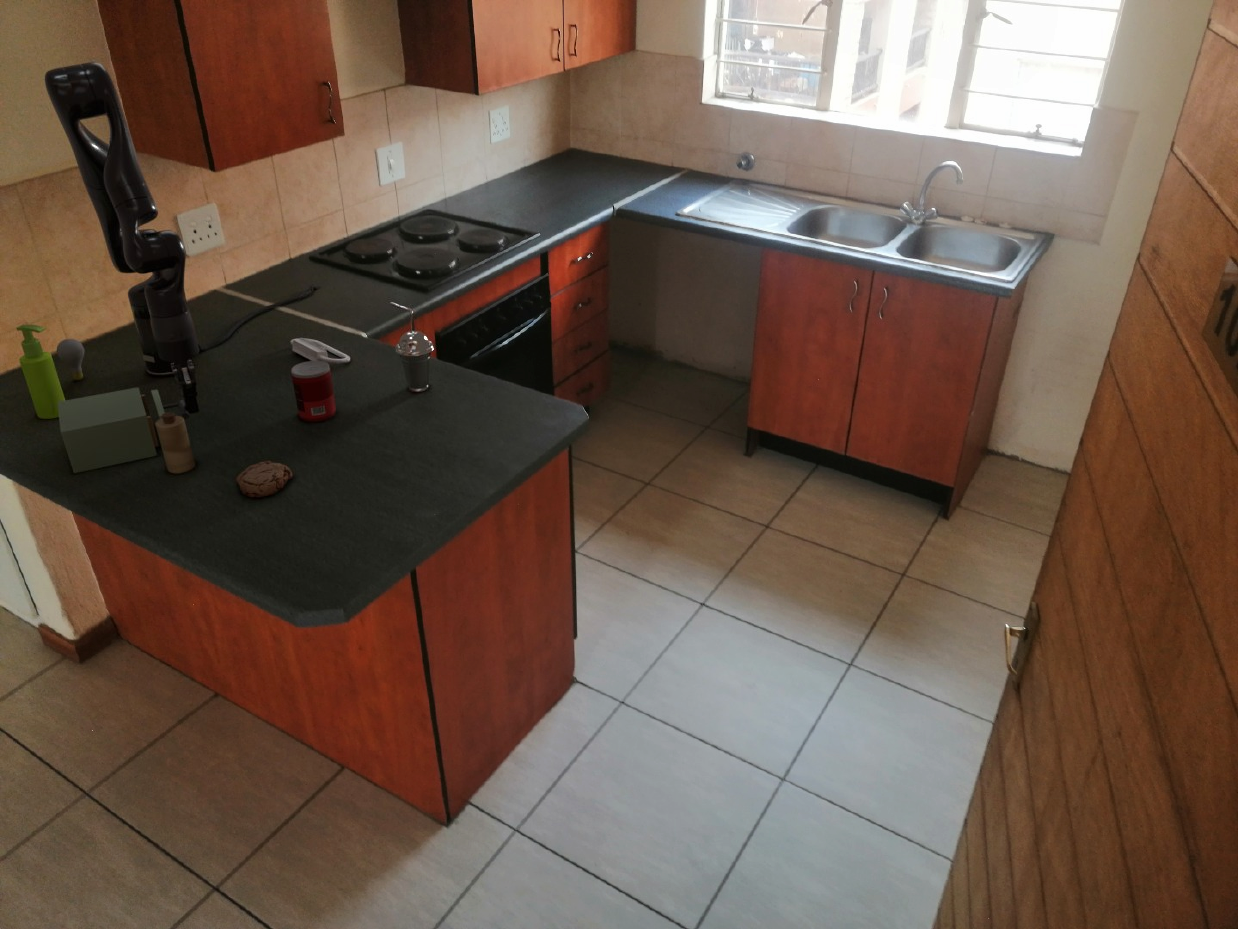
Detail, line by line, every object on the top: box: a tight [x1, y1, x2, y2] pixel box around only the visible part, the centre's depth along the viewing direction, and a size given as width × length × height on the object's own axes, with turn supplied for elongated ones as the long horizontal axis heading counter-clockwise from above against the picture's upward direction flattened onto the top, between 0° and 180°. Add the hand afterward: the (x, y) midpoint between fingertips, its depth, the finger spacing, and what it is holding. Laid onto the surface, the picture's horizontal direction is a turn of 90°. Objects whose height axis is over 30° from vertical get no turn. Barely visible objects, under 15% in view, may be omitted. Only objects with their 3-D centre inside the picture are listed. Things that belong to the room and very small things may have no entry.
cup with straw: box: [389, 301, 435, 393], centre depth 211 cm, size 8×9×20 cm
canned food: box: [290, 360, 337, 423], centre depth 200 cm, size 8×8×11 cm
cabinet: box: [57, 387, 158, 474], centre depth 187 cm, size 15×15×9 cm
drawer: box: [140, 388, 190, 448], centre depth 189 cm, size 18×14×7 cm
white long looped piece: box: [289, 337, 351, 364], centre depth 230 cm, size 20×8×4 cm, turn 47°
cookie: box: [236, 460, 294, 498], centre depth 177 cm, size 10×11×3 cm
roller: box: [155, 411, 196, 474], centre depth 180 cm, size 5×5×12 cm
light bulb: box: [56, 338, 85, 381], centre depth 215 cm, size 6×6×10 cm
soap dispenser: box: [16, 324, 66, 420], centre depth 197 cm, size 6×7×20 cm
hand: (193, 411), depth 194 cm, fingers closed
